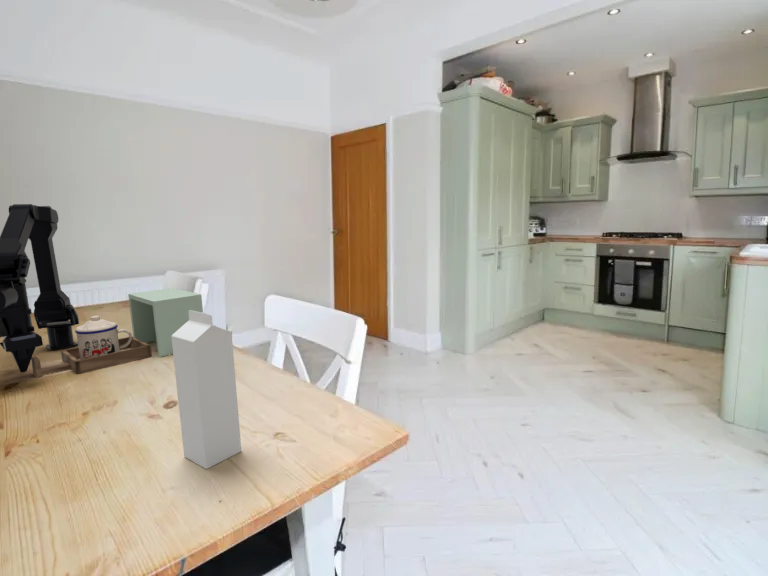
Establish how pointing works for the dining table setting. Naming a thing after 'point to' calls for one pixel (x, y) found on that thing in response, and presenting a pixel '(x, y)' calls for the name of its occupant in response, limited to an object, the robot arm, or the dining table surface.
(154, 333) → the shelf
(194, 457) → the milk
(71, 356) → the tray
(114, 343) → the teacup with lid
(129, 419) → the dining table surface
